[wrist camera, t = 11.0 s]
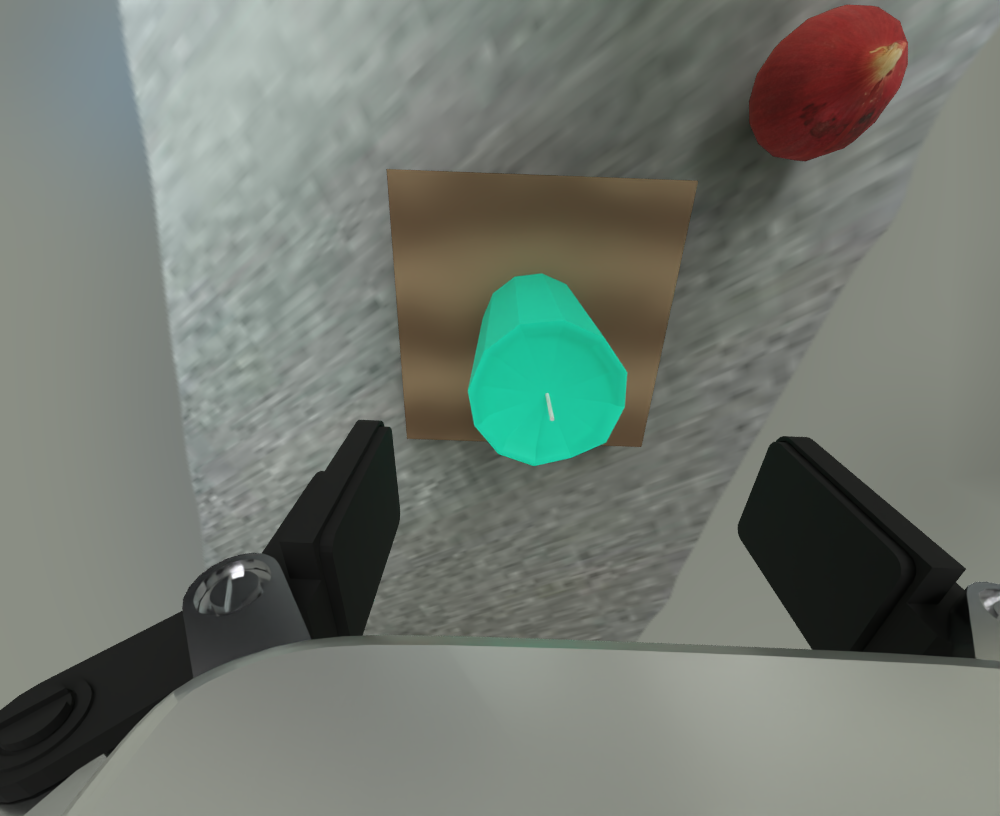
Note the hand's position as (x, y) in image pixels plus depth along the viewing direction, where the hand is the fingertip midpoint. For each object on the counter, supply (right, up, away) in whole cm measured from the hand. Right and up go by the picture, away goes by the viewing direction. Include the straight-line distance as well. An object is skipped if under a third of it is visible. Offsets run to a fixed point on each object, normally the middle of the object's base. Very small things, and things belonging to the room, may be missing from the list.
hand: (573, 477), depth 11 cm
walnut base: (0, +8, +18) cm, 20 cm away
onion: (+14, +19, +13) cm, 26 cm away
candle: (0, +7, +15) cm, 16 cm away
